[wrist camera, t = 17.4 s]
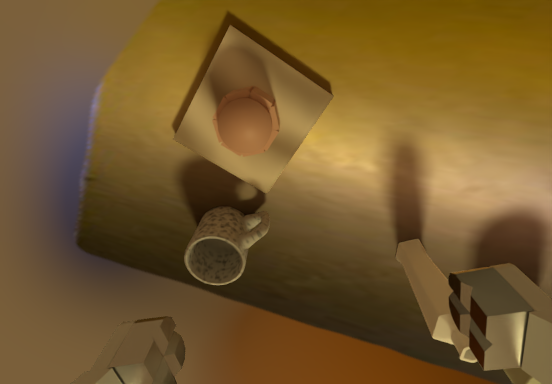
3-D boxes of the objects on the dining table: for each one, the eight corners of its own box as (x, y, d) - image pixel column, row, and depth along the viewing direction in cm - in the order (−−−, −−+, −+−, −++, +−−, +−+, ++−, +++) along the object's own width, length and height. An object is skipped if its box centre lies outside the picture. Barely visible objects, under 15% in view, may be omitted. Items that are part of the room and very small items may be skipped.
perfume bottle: (385, 247, 40) (435, 348, 26) (416, 231, 39) (486, 328, 25) (400, 271, 42) (456, 379, 28) (432, 256, 40) (505, 361, 27)
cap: (289, 108, 32) (290, 116, 28) (259, 155, 34) (256, 169, 30) (239, 75, 31) (231, 79, 27) (211, 126, 33) (200, 136, 29)
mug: (218, 258, 42) (207, 293, 36) (189, 220, 39) (171, 250, 33) (283, 227, 39) (283, 259, 33) (256, 184, 37) (250, 211, 31)
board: (232, 25, 30) (230, 24, 29) (332, 94, 32) (333, 96, 31) (176, 136, 35) (172, 139, 34) (267, 189, 37) (266, 194, 36)
